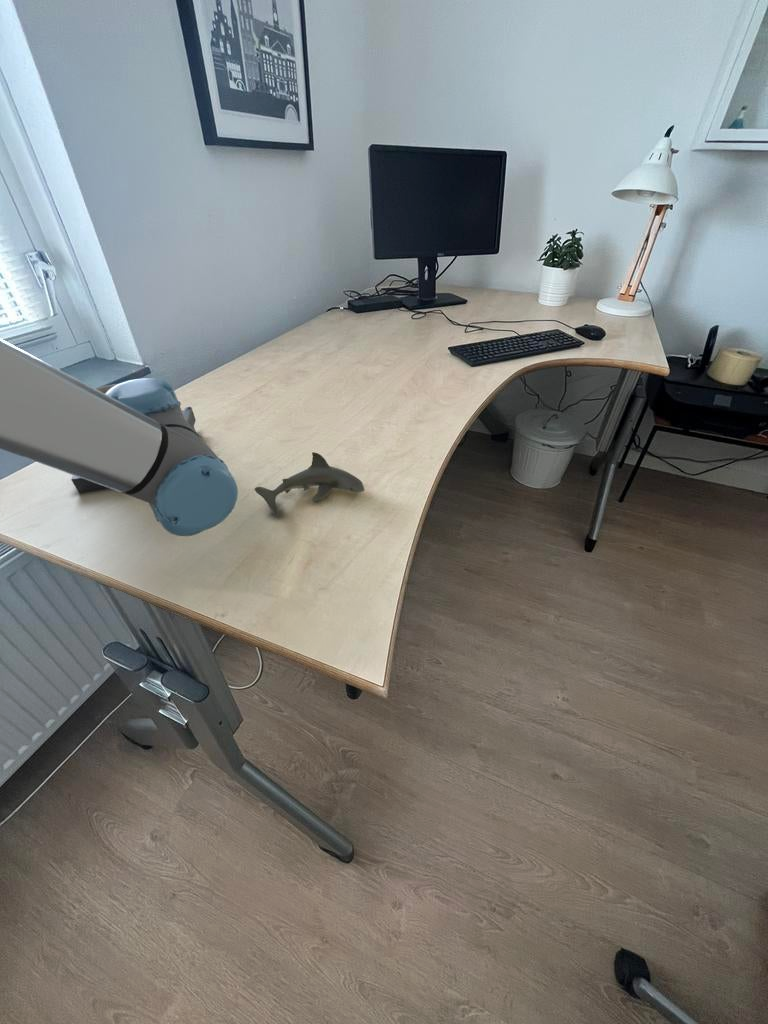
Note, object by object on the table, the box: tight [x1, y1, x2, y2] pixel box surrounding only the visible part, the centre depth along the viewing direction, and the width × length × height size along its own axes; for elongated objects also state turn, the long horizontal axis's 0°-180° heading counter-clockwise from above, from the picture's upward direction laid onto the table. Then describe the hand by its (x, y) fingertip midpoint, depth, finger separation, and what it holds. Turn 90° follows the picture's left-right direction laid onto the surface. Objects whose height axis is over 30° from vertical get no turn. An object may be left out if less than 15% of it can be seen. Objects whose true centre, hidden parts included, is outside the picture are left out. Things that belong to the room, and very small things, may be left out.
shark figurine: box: [254, 451, 365, 517], centre depth 75 cm, size 14×17×8 cm
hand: (122, 414), depth 78 cm, fingers open, 13 cm apart
